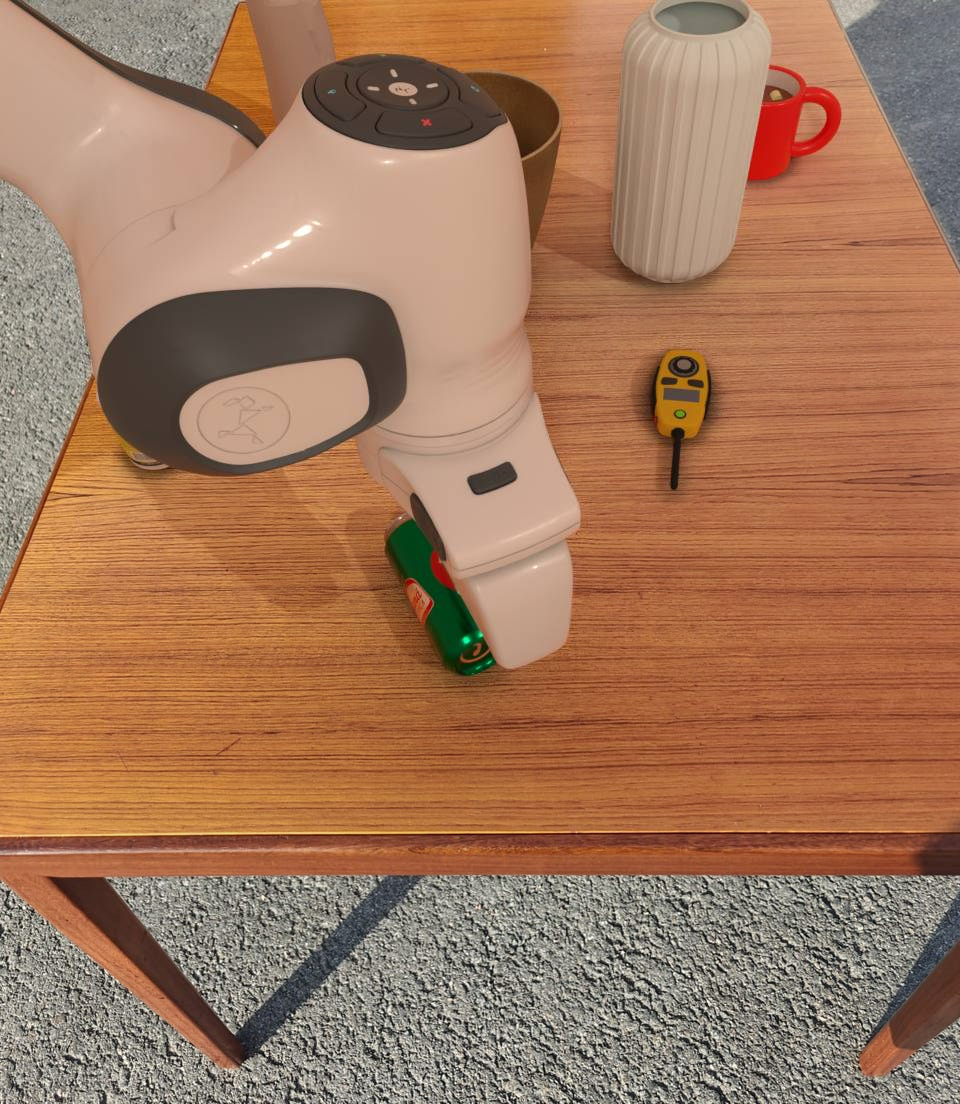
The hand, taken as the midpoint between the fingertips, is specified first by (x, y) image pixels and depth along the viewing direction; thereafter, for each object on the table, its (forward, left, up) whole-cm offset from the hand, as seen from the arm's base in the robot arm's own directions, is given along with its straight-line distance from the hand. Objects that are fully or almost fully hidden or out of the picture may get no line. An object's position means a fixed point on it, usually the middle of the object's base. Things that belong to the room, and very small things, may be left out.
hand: (462, 573), depth 56 cm
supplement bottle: (-15, +30, -10) cm, 35 cm away
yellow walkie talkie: (+24, +12, -10) cm, 29 cm away
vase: (+35, +31, -10) cm, 48 cm away
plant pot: (+18, +37, -10) cm, 42 cm away
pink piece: (+14, +64, -10) cm, 66 cm away
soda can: (0, -2, -8) cm, 8 cm away
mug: (+53, +40, -10) cm, 67 cm away
